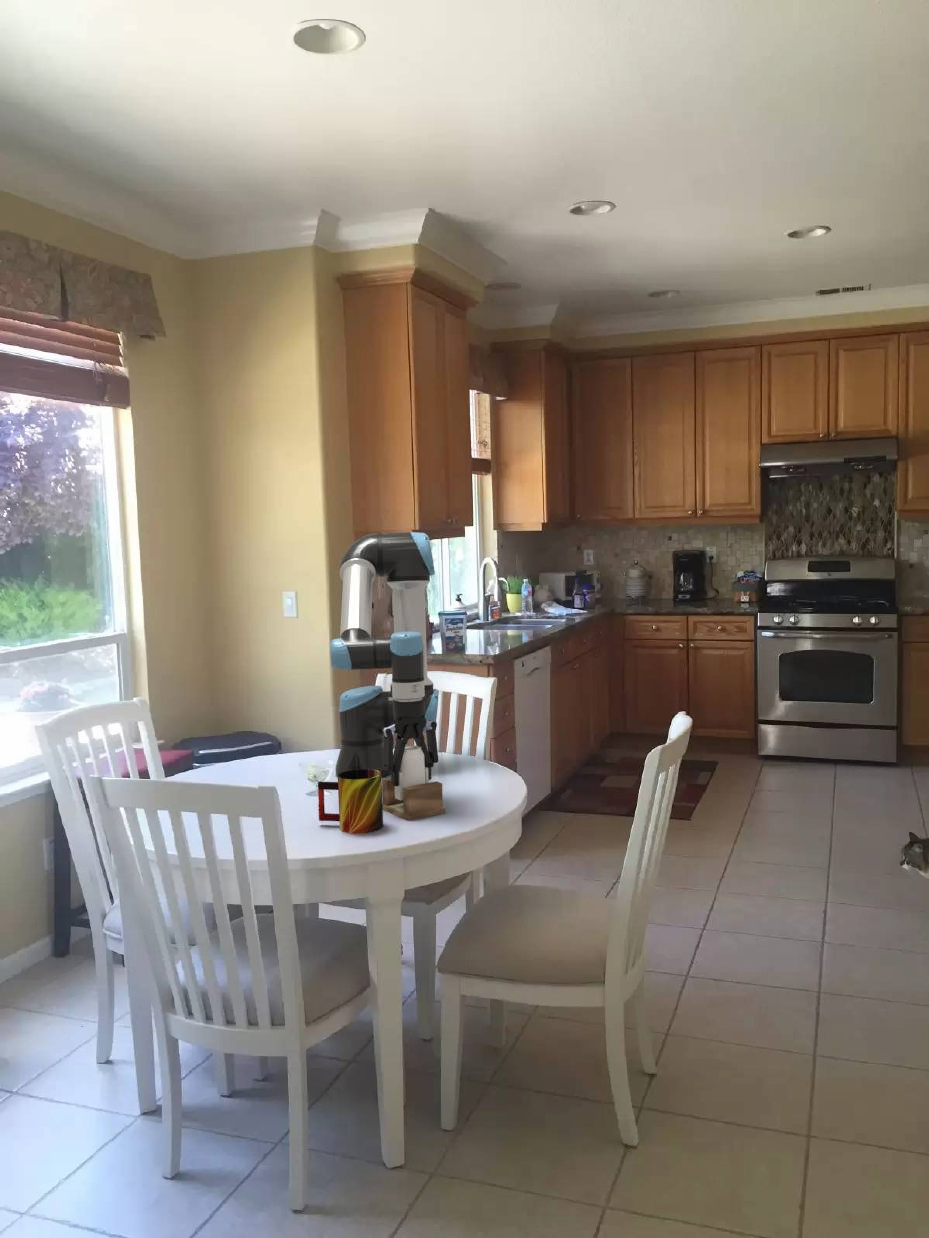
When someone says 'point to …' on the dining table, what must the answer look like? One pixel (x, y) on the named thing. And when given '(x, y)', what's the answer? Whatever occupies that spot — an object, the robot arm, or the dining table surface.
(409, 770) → the beverage can
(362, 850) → the dining table surface
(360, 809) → the mug
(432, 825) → the dining table surface
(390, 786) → the post bracket
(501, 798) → the dining table surface
